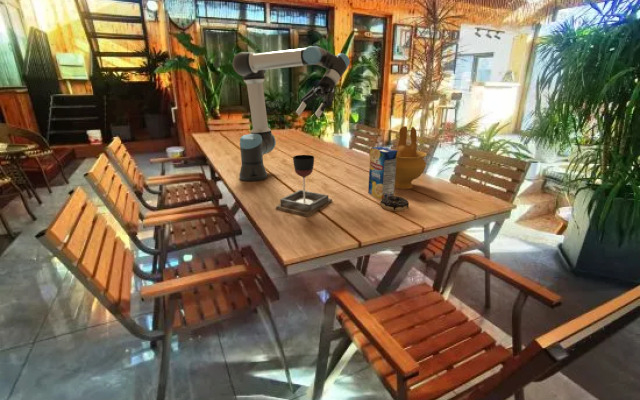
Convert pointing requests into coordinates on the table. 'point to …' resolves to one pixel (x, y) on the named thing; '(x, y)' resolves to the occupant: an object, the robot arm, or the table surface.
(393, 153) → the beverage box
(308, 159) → the wineglass
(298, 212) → the tray
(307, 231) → the table surface
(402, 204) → the donut
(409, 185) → the decorative bowl
